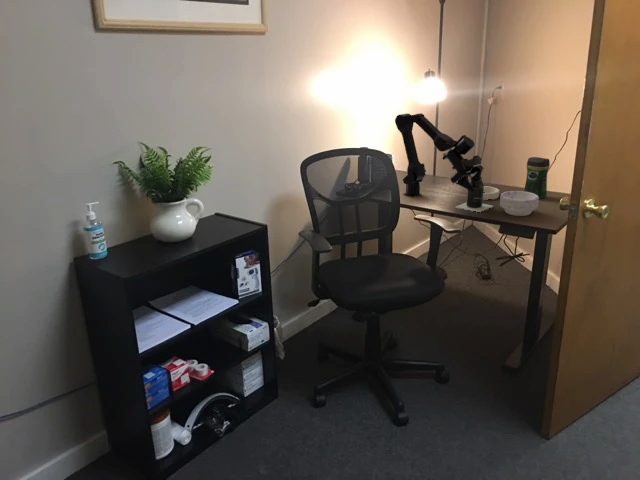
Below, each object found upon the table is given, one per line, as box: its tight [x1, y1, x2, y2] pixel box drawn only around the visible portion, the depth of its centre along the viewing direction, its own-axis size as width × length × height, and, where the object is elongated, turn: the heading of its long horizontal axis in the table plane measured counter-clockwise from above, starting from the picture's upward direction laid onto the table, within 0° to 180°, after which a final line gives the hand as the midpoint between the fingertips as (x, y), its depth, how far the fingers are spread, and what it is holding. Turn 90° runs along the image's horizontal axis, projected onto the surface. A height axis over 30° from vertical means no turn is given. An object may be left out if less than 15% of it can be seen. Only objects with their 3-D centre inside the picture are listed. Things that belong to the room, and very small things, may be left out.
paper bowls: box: [499, 190, 540, 217], centre depth 221 cm, size 15×15×8 cm
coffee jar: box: [523, 156, 551, 200], centre depth 242 cm, size 10×8×19 cm
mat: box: [454, 201, 494, 213], centre depth 232 cm, size 12×12×1 cm
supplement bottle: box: [465, 178, 484, 208], centre depth 231 cm, size 7×7×12 cm
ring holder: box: [483, 185, 500, 201], centre depth 250 cm, size 14×14×3 cm
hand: (478, 189), depth 229 cm, fingers open, 8 cm apart
